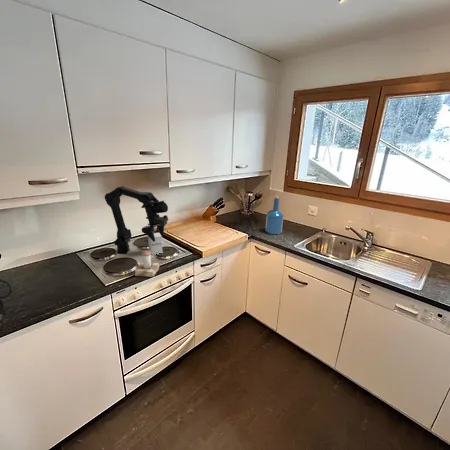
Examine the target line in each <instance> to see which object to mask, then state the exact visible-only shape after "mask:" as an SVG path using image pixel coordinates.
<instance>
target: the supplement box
mask: <svg viewBox="0 0 450 450" xmlns="http://www.w3.org/2000/svg"><path fill="white" fill-rule="evenodd" d="M154 237H155V242H153V241H152V240H151V238H150V237H149V236H148V235H147V240H148V241H147V242H148V251H151V256H156V254H157V255H160V254H159V253H162V254H163V238H162V237H163V236H161V234H160V232H154Z"/></svg>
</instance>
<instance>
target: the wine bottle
mask: <svg viewBox="0 0 450 450" xmlns="http://www.w3.org/2000/svg"><path fill="white" fill-rule="evenodd" d="M272 207H273V208H272V209H270V210H269V211H268V212H266V218H265V220H266V221H265V228H264V230H265V232H266V233H267V234H269V235H280V234H281V233H282V232H283V223H284V214H283V213H282V212H281V211H280V210H279V207H280V198H279V196H277V195H275V197H274V198H273V206H272Z"/></svg>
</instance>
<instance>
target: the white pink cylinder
mask: <svg viewBox="0 0 450 450" xmlns="http://www.w3.org/2000/svg"><path fill="white" fill-rule="evenodd" d="M141 256H142V257H141V259H142V262H143V269H151V263H152V257H151V256H152V255H151V251H149V249H148V250H147V249H146V250H143V251H141Z"/></svg>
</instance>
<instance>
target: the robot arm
mask: <svg viewBox="0 0 450 450" xmlns="http://www.w3.org/2000/svg"><path fill="white" fill-rule="evenodd" d="M122 196H126V197H129V198H133V199H136V200H138V202H139V203H142V206H141V208H142V209H143V208H144V210H145V213H146V217H145V219H147V220H148V223H147V225H146V226H143V227H142V228H141V233H142V234H145V235H146V236H147V237H148V236H149V237H150V238H151V240H152V241H153V242H155V237H154V233H156V232H155V231H156V230H155V228H156V227H157V230H158V233H160V235H161V236H162V237H164V234H165V231H164V230H165V227H166V225H168V221H169V217H168V215H166V214H164V213H167V212H169V207H168V204H167V203H166V202H165V200H158V198H157V197H156V196H154V194H153V193H152V192H151V191H150V192H149V191H138V190H135V189H132V188H128V187H125V186H123V185H122V186H117V187H116V188H115V189H114V190H113V189H112V191H110V192H108V193H105V194H104V200H105V202H106V205H108V206H109V208H111V213H112V216H113V219H114V222H115V225H116V228H117V230H116V239H115V240H114V241H113V244H114V245H115V246H116V250H117V251H116V254H119V255H120V254H121V255H123V254H124V255H125V254H126V255H127V253H129V252H130V251H131V249H130V244H129V242H130V241H131V239H132V235H133V234H132V232H131V231H132V230H131V229H129V228H127V227H126V224H125V220H124V217H123V214H122V210H121V207H120V203H121V197H122ZM162 213H163V214H164V215H162V216H161V215H160V214H162Z"/></svg>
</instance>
